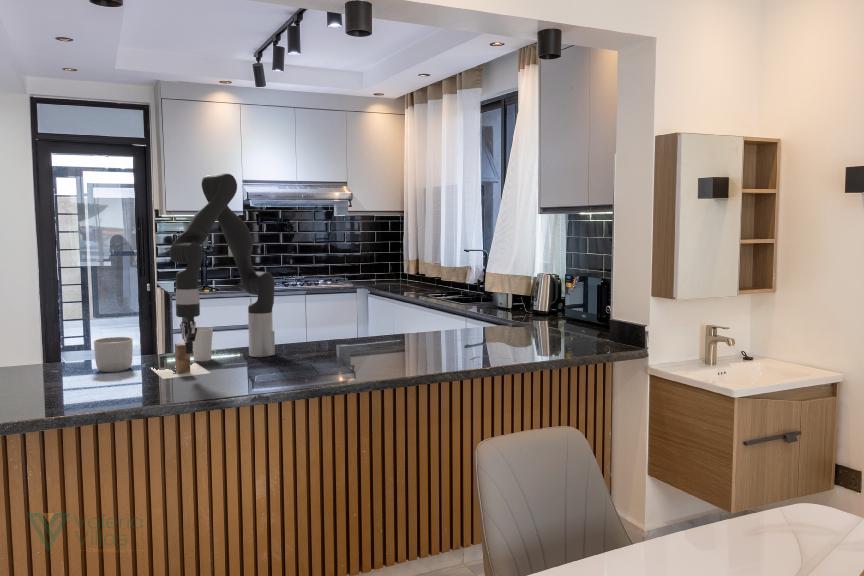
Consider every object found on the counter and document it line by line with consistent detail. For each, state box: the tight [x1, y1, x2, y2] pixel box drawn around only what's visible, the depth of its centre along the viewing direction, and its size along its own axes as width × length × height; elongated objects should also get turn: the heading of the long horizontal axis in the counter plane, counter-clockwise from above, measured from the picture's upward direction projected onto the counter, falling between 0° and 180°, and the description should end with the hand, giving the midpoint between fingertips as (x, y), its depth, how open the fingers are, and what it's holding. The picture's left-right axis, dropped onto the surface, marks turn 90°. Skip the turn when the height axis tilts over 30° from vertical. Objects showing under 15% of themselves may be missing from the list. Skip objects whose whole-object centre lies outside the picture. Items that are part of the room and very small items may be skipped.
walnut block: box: [174, 342, 191, 374], centre depth 232 cm, size 4×4×10 cm
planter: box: [93, 336, 134, 373], centre depth 236 cm, size 12×12×11 cm
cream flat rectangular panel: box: [150, 362, 211, 380], centre depth 236 cm, size 16×20×1 cm
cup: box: [192, 326, 214, 362], centre depth 254 cm, size 8×8×12 cm
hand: (189, 353), depth 224 cm, fingers closed
